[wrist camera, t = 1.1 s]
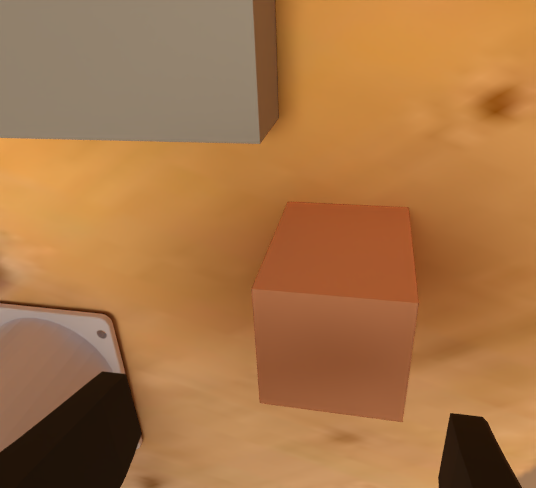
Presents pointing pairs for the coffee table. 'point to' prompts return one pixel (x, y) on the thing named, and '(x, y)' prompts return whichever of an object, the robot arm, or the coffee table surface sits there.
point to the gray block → (138, 70)
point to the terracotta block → (337, 310)
